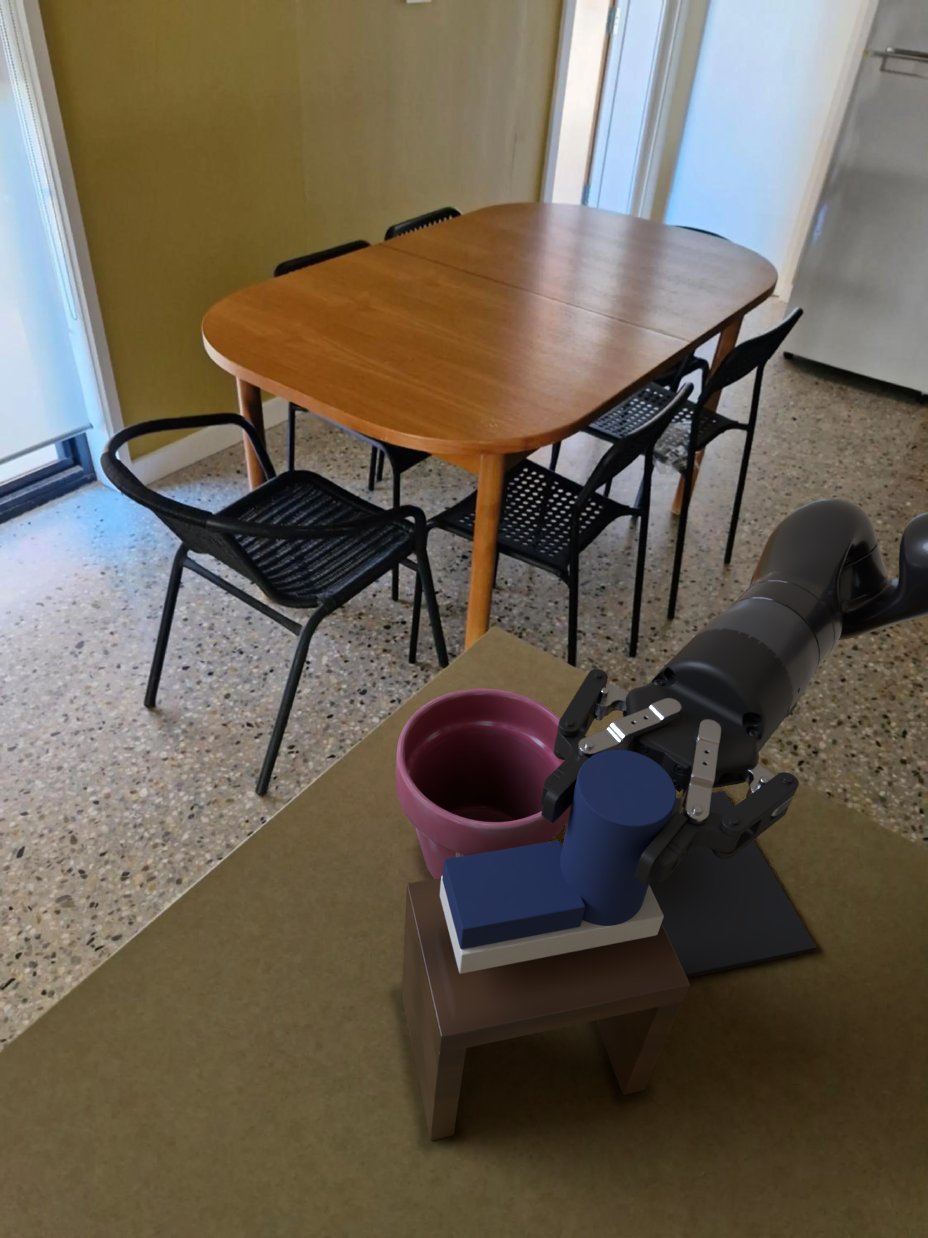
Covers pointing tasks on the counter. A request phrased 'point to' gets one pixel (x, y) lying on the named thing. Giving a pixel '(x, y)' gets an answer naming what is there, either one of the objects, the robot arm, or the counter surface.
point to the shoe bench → (529, 1002)
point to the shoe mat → (727, 908)
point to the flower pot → (477, 773)
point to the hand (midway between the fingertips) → (595, 839)
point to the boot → (565, 874)
